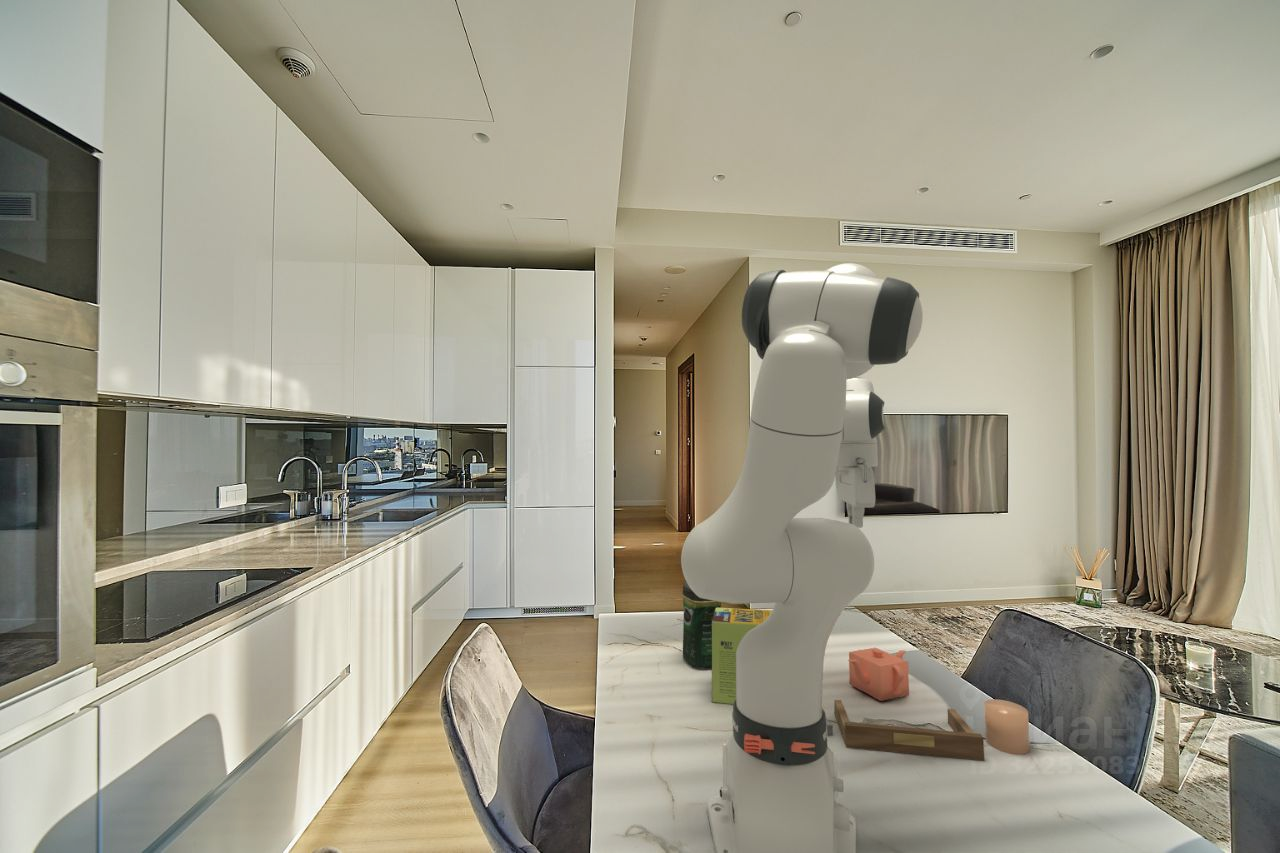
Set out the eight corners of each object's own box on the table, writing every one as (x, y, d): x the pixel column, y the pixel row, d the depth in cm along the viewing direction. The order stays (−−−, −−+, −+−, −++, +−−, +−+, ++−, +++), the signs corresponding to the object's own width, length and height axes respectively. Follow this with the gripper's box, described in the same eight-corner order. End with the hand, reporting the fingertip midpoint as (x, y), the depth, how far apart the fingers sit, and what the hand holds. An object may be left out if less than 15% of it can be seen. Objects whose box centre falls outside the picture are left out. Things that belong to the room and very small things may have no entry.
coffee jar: (727, 668, 121) (726, 583, 122) (694, 672, 119) (694, 586, 120) (708, 653, 130) (708, 574, 131) (678, 656, 128) (678, 576, 129)
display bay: (984, 761, 84) (984, 738, 85) (846, 747, 88) (846, 725, 88) (955, 723, 96) (954, 703, 96) (834, 713, 100) (834, 694, 100)
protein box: (794, 710, 101) (793, 626, 102) (711, 703, 104) (710, 620, 105) (790, 687, 111) (789, 610, 112) (714, 680, 115) (714, 606, 115)
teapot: (828, 686, 112) (827, 645, 112) (883, 675, 117) (882, 636, 118) (872, 712, 101) (871, 666, 101) (931, 698, 106) (930, 655, 107)
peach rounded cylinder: (1037, 756, 86) (1035, 717, 86) (995, 752, 87) (994, 714, 87) (1018, 737, 92) (1017, 700, 92) (979, 733, 93) (978, 697, 93)
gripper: (883, 458, 100) (885, 533, 100) (860, 457, 121) (861, 520, 120) (847, 458, 102) (848, 532, 101) (830, 457, 122) (831, 519, 121)
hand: (855, 526), depth 111 cm, fingers closed
